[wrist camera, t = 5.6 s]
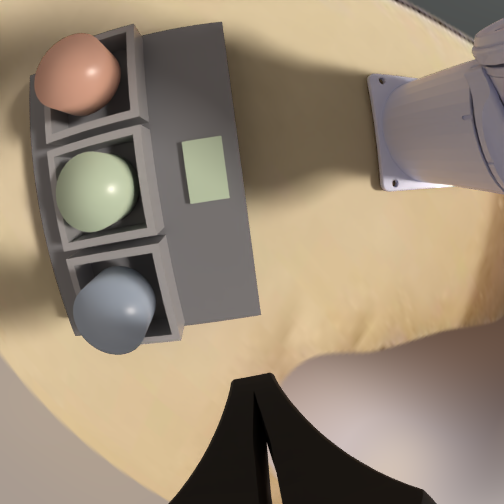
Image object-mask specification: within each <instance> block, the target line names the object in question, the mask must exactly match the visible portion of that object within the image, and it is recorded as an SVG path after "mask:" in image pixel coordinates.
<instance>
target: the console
mask: <svg viewBox="0 0 504 504" xmlns="http://www.w3.org/2000/svg"><path fill="white" fill-rule="evenodd" d="M94 37H96V38H97V39H98V40H99V41H100V42H101V43H102V44H103V45H104V46H105V47H106V48H107V49H108V50H109V51H110V52H111V53H112V54H113V55H114V57H115V58H116V59H117V60H118V62H119V65H120V68H121V78H120V83H119V86H118V89H117V91H116V93H115V94H114V96H113V97H112V99H111V100H110V101H109V102H108V103H107V104H106V105H105V106H104V107H103V108H102V109H100V110H99V111H97V112H95V113H93V114H90V115H87V116H74V115H71V114H68V113H65V112H62V111H59V110H56V109H53V108H50V107H47V106H45V105H43V104H42V103H41V102H40V101H39V99H38V98H37V96H36V93H35V88H34V81H35V74H36V73H35V74H33V75H31V76H30V131H31V146H32V158H33V167H34V176H35V183H36V190H37V197H38V203H39V208H40V214H41V219H42V224H43V229H44V234H45V238H46V242H47V247H48V251H49V255H50V259H51V263H52V266H53V270H54V274H55V277H56V281H57V284H58V287H59V291H60V294H61V297H62V300H63V303H64V306H65V309H66V312H67V315H68V318H69V320H70V323H71V326H72V329H73V331H74V334H75V336H80V335H81V334H80V332H79V330H78V329H77V326H76V324H75V321H74V316H73V305H74V301H75V298H76V296H77V295H78V293H79V292H80V291H81V290H82V289H83V288H84V287H85V286H86V285H87V284H88V283H89V282H90V281H92V280H93V279H94V278H95V277H96V276H97V275H98V274H99V273H100V272H101V271H103V270H104V269H106V268H109V267H112V266H125V267H129V268H131V269H134V270H136V271H137V272H139V273H140V274H141V275H143V276H144V277H145V278H146V279H147V281H148V282H149V283H150V285H151V286H152V289H153V291H154V294H155V298H156V309H155V313H154V315H153V318H152V320H151V323H150V325H149V327H148V330H147V332H146V334H145V337H144V339H143V341H142V343H141V344H150V343H161V342H170V341H180V340H181V339H182V334H183V329H184V326H186V325H194V324H202V323H210V322H217V321H224V320H231V319H238V318H244V317H251V316H257V315H261V311H260V304H259V296H258V289H257V281H256V274H255V266H254V259H253V251H252V243H251V236H250V228H249V221H248V213H247V206H246V198H245V191H244V183H243V175H242V168H241V160H240V153H239V145H238V138H237V130H236V123H235V115H234V108H233V100H232V93H231V85H230V78H229V70H228V63H227V55H226V48H225V40H224V33H223V25H222V22H216V23H208V24H200V25H194V26H187V27H181V28H176V29H171V30H166V31H161V32H156V33H152V34H147V35H143V36H141V35H140V33H139V31H138V30H137V28H136V26H135V25H134V24H131V25H127V26H124V27H120V28H117V29H114V30H110V31H107V32H104V33H101V34H98V35H95V36H94ZM84 152H101V153H109V154H115V155H119V156H121V157H123V158H125V159H126V160H127V161H129V162H130V164H131V165H132V166H133V167H134V169H135V171H136V173H137V176H138V180H139V195H138V199H137V202H136V204H135V206H134V208H133V209H132V211H131V212H130V213H129V214H128V215H127V216H126V217H125V218H123V219H121V220H119V221H118V222H116V223H114V224H112V225H110V226H108V227H106V228H104V229H102V230H100V231H96V232H84V231H80V230H77V229H75V228H74V227H72V226H71V225H70V224H68V223H67V222H66V220H65V219H64V218H63V216H62V215H61V213H60V211H59V208H58V205H57V201H56V185H57V180H58V177H59V175H60V172H61V171H62V169H63V167H64V166H65V165H66V163H67V162H68V161H69V160H70V159H72V158H73V157H75V156H76V155H78V154H81V153H84ZM94 348H95V347H94Z"/></svg>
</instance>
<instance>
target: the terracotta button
mask: <svg viewBox="0 0 504 504" xmlns="http://www.w3.org/2000/svg"><path fill="white" fill-rule="evenodd" d="M120 78H121V68H120V65H119V62H118V60H117V59H116V58H115V57H114V55H113V54H112V53H111V52H110V51H109V50H108V49H107V48H106V47H105V46H104V45H103V44H102V43H101V42H100V41H99V40H98V39H97V38H96V37H94V36H92V35H90V34H86V33H77V34H73V35H70V36H67V37H65V38H63V39H61V40H60V41H58V42H57V43H56V44H54V45H53V46H52V47H51V48H50V49H49V50H48V51H47V53H46V54H45V55H44V57H43V58H42V60H41V62H40V63H39V66H38V68H37V71H36V74H35V81H34V88H35V93H36V96H37V98H38V99H39V101H40V102H41V103H42V104H43V105H45V106H47V107H50V108H53V109H56V110H59V111H62V112H65V113H68V114H71V115H74V116H87V115H90V114H93V113H95V112H97V111H99V110H100V109H102V108H103V107H104V106H105V105H106V104H107V103H108V102H109V101H110V100H111V99H112V97H113V96H114V94H115V93H116V91H117V89H118V86H119V83H120Z"/></svg>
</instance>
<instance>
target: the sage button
mask: <svg viewBox="0 0 504 504" xmlns="http://www.w3.org/2000/svg"><path fill="white" fill-rule="evenodd" d="M138 195H139V180H138V176H137V173H136V171H135V169H134V167H133V166H132V165H131V164H130V162H129V161H127V160H126V159H125V158H123V157H121V156H119V155H115V154H109V153H101V152H84V153H81V154H78V155H76V156H75V157H73V158H72V159H70V160H69V161H68V162H67V163H66V165H65V166H64V167H63V169H62V171H61V172H60V175H59V177H58V180H57V185H56V201H57V205H58V208H59V211H60V213H61V215H62V216H63V218H64V219H65V220H66V222H67V223H68V224H70V225H71V226H72V227H74V228H75V229H77V230H80V231H84V232H96V231H100V230H102V229H104V228H106V227H108V226H110V225H112V224H114V223H116V222H118V221H119V220H121V219H123V218H125V217H126V216H127V215H128V214H129V213H130V212H131V211H132V209H133V208H134V206H135V204H136V202H137V199H138Z"/></svg>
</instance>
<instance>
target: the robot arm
mask: <svg viewBox="0 0 504 504" xmlns="http://www.w3.org/2000/svg"><path fill="white" fill-rule="evenodd" d="M472 54H473V56H474V57H475V60H472V61H468V62H465V63H462V64H459V65H456V66H453V67H450V68H447V69H444V70H441V71H439V72H436V73H433V74H430V75H427V76H425V77H422V78H419V79H417V78H410V77H402V76H394V75H385V74H371V75H369V76H368V78H367V83H368V89H369V94H370V100H371V106H372V113H373V120H374V127H375V135H376V143H377V152H378V161H379V172H380V184H381V188H382V189H383V190H384V191H401V190H414V189H427V188H442V187H462V188H469V189H475V190H482V191H488V192H493V193H499V194H504V18H503V19H501V20H499V21H497V22H495V23H493V24H491V25H489V26H487V27H486V28H484V29H482V30H481V31H480V32H478V33H477V35H475V41H474V46H473V48H472ZM379 79H381V80H382V81H383V84H381V83H380V82H379ZM393 180H395V182H396V185H395V186H393V185H392V182H393ZM267 444H268V447H269V451H270V454H271V457H272V460H273V463H274V466H275V469H276V472H277V477H278V482H279V487H280V493H281V498H282V503H283V504H436V503H435V502H434V500H433V499H432V498H431V497H430V496H429V495H428V494H427V493H426V492H425V491H424V490H423V489H420V488H417V487H414V486H411V485H408V484H405V483H403V482H400V481H398V480H395V479H393V478H391V477H389V476H386V475H384V474H382V473H380V472H378V471H376V470H374V469H372V468H371V467H369V466H367V465H365V464H364V463H362V462H360V461H359V460H357V459H355V458H354V457H352V456H350V455H349V454H347V453H346V452H344V451H343V450H342V449H340V448H339V447H337V446H336V445H335V444H334V443H332V442H331V441H330V440H328V439H327V438H326V437H325V436H324V435H323V434H321V433H320V432H319V431H318V430H317V429H316V428H315V427H314V426H313V425H312V424H311V423H310V422H309V421H308V420H307V419H306V418H305V417H304V416H303V415H302V414H301V413H300V412H299V411H298V409H297V408H296V407H295V406H294V405H293V404H292V403H291V401H290V400H289V399H288V397H287V396H286V395H285V393H284V392H283V390H282V389H281V387H280V386H279V384H278V382H277V380H276V378H275V376H274V375H273V374H272V373H266V374H261V375H256V376H251V377H246V378H240V379H235V380H233V381H232V382H231V387H230V391H229V395H228V399H227V402H226V405H225V409H224V411H223V414H222V417H221V419H220V422H219V425H218V427H217V429H216V431H215V434H214V436H213V438H212V440H211V442H210V444H209V446H208V448H207V450H206V452H205V454H204V456H203V457H202V459H201V461H200V462H199V464H198V466H197V467H196V469H195V470H194V472H193V473H192V475H191V476H190V477H189V479H188V480H187V482H186V483H185V484H184V486H183V487H182V488H181V490H180V491H179V492H178V493H177V495H176V496H175V497H174V498H173V499H172V500H171V501H170V502H169V504H272V499H271V490H270V478H269V465H268V453H267Z"/></svg>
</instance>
